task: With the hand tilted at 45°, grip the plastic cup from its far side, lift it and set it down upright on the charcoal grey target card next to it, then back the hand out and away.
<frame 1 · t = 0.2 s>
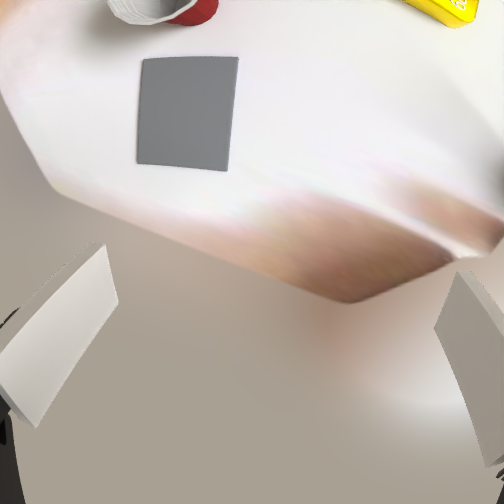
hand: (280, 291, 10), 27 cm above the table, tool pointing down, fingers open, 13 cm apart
target card: (184, 111, 34), on the table
plastic cup: (197, 8, 28), on the table
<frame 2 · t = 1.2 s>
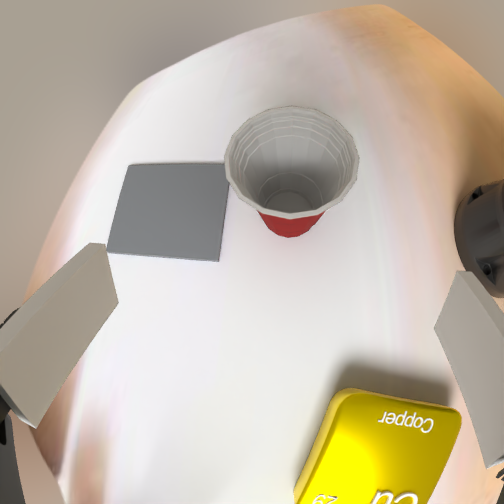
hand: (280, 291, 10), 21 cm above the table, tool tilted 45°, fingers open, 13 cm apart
element tile: (373, 457, 26), on the table
target card: (168, 208, 36), on the table
plastic cup: (287, 215, 34), on the table
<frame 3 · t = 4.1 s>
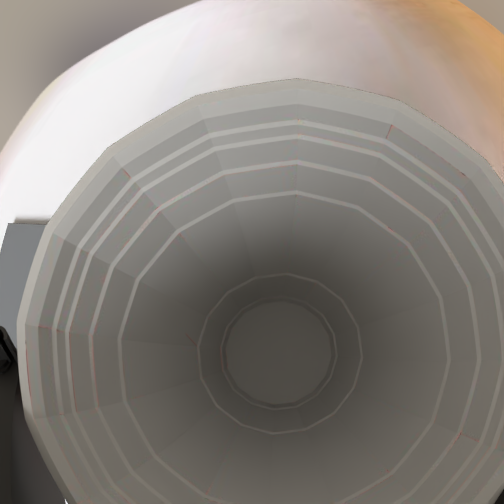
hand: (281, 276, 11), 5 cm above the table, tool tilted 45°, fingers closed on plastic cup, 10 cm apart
target card: (53, 316, 16), on the table
plastic cup: (274, 354, 15), on the table, touching gripper
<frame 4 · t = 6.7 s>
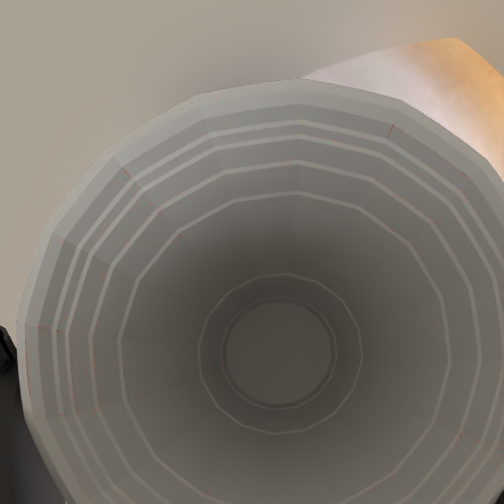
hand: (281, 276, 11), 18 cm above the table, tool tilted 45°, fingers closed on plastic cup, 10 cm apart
plastic cup: (274, 354, 15), point 13 cm above the table, touching gripper
when the fingers open (7 cm above the table, at t = 9.6 s): plastic cup moves 3 cm, resting on target card.
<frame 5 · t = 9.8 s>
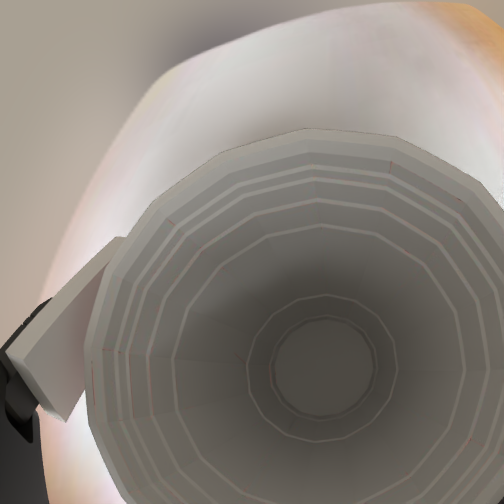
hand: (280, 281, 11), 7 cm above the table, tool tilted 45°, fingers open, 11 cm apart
plastic cup: (320, 369, 16), point 1 cm above the table, touching gripper, target card
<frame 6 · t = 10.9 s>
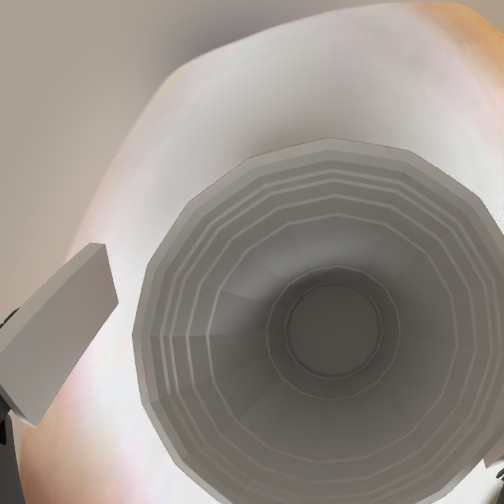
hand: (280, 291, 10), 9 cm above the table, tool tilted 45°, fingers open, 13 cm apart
plastic cup: (330, 331, 18), point 1 cm above the table, touching gripper, target card
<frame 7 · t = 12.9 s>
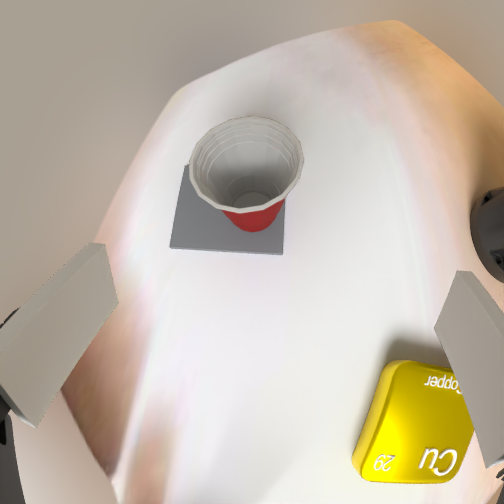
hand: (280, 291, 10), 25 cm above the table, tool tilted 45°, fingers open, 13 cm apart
element tile: (415, 422, 30), on the table
target card: (229, 207, 39), on the table
plastic cup: (251, 212, 39), resting on target card
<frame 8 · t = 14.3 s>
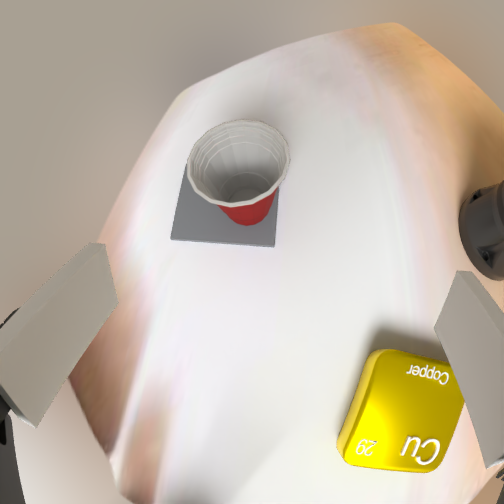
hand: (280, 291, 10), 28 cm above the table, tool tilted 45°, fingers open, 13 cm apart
element tile: (400, 410, 33), on the table
target card: (226, 202, 42), on the table
plastic cup: (246, 207, 42), resting on target card
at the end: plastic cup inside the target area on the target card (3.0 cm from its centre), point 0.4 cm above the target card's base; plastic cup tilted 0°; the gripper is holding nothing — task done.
